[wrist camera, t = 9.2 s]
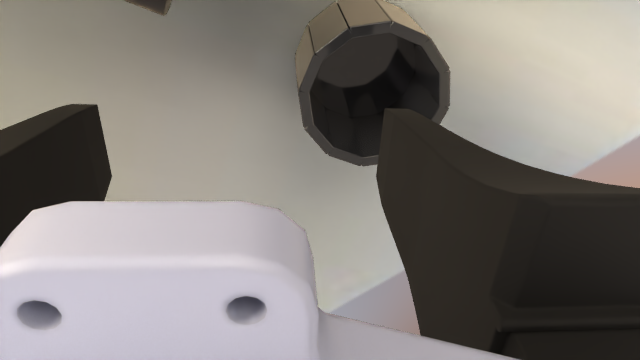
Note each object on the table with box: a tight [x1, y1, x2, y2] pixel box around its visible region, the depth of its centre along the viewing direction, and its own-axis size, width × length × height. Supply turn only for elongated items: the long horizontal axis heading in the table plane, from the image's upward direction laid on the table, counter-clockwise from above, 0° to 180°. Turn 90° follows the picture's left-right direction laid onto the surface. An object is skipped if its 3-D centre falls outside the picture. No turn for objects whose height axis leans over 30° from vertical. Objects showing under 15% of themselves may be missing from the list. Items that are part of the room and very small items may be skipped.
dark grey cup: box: [295, 0, 450, 166], centre depth 19 cm, size 5×5×5 cm
